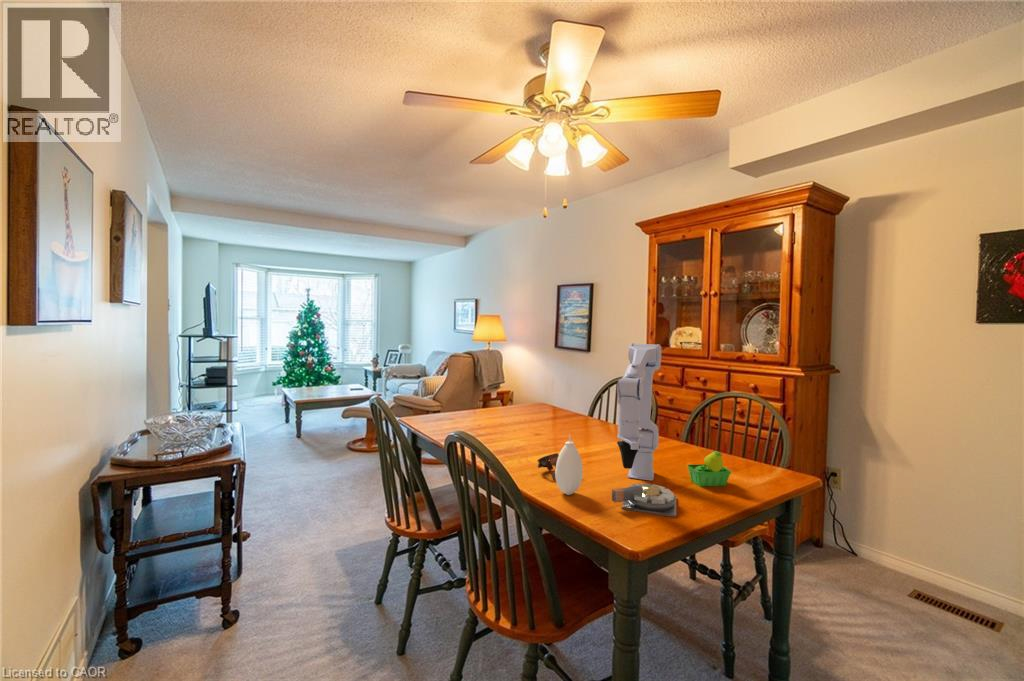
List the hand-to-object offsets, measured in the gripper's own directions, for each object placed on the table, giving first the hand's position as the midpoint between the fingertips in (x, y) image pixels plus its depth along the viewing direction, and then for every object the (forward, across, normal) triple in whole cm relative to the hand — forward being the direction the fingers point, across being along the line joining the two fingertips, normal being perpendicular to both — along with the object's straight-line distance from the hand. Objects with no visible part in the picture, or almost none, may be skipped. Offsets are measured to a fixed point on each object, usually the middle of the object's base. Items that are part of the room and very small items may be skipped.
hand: (627, 467), depth 128 cm
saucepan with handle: (+7, -3, -5) cm, 9 cm away
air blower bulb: (+10, +5, +16) cm, 19 cm away
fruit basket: (+10, +16, -30) cm, 36 cm away
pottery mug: (+10, +21, +18) cm, 30 cm away
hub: (+10, -1, -6) cm, 12 cm away
